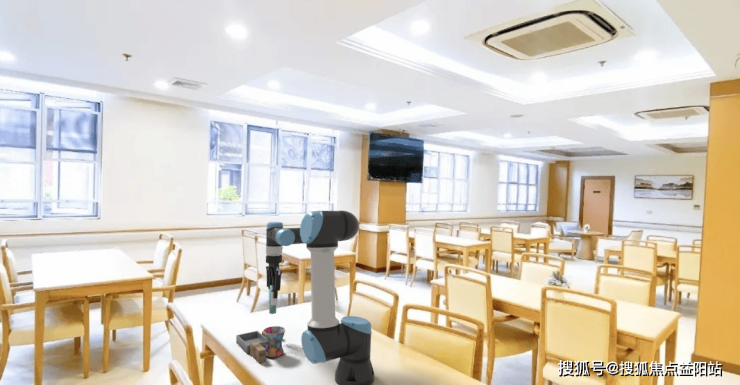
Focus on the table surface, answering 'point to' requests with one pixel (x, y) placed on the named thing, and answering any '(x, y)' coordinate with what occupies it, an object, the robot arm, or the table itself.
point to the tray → (250, 340)
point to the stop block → (258, 352)
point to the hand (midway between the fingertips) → (272, 303)
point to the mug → (274, 341)
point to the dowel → (271, 307)
